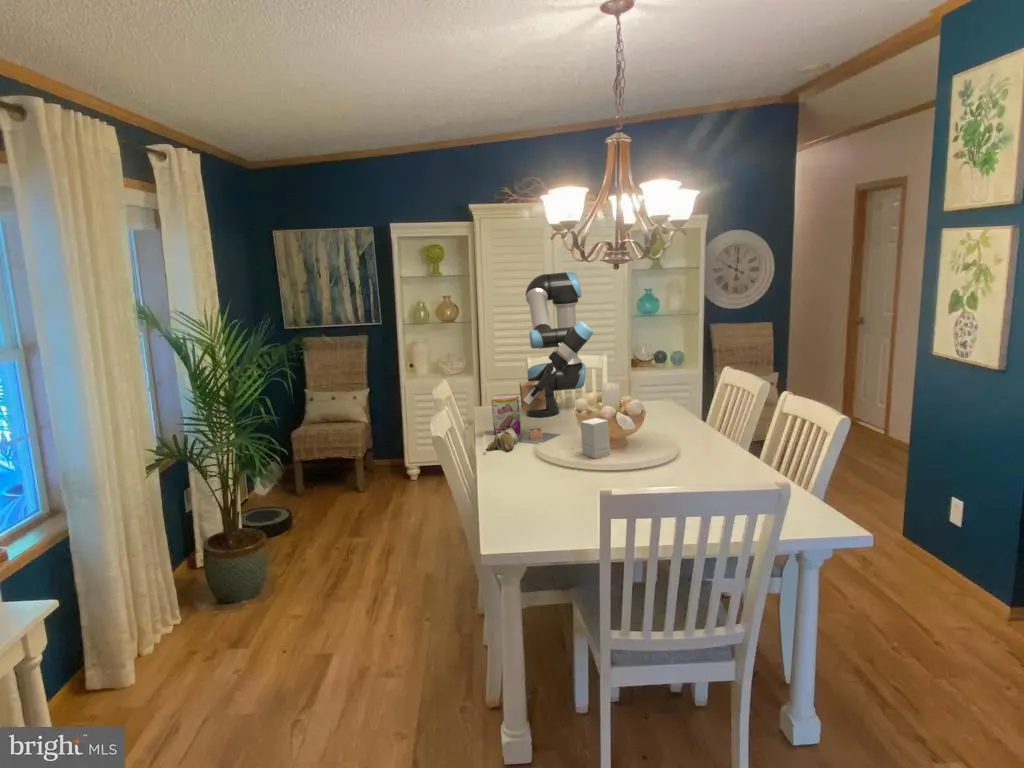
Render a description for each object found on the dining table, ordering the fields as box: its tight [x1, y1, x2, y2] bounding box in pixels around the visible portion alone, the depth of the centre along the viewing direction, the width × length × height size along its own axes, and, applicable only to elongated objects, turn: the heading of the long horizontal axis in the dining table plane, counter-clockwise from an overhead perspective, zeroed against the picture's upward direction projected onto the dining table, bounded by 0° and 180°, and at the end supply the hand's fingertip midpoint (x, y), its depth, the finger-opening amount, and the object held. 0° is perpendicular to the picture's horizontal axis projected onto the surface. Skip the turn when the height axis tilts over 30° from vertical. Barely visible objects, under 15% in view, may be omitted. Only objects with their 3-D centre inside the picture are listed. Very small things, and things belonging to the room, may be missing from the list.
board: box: [517, 432, 562, 445], centre depth 277 cm, size 16×14×1 cm
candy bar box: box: [491, 395, 522, 436], centre depth 288 cm, size 11×5×16 cm, turn 84°
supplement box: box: [580, 417, 611, 459], centre depth 249 cm, size 7×7×13 cm
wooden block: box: [518, 380, 546, 412], centre depth 274 cm, size 9×9×10 cm
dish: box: [528, 427, 543, 440], centre depth 277 cm, size 5×5×3 cm
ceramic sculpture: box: [485, 427, 519, 452], centre depth 267 cm, size 11×9×15 cm
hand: (524, 399), depth 274 cm, fingers closed on wooden block, 9 cm apart
